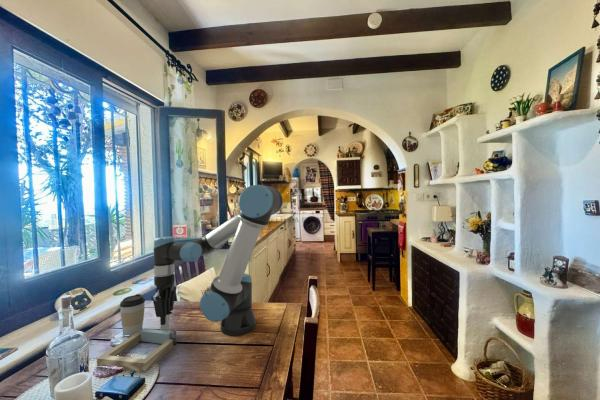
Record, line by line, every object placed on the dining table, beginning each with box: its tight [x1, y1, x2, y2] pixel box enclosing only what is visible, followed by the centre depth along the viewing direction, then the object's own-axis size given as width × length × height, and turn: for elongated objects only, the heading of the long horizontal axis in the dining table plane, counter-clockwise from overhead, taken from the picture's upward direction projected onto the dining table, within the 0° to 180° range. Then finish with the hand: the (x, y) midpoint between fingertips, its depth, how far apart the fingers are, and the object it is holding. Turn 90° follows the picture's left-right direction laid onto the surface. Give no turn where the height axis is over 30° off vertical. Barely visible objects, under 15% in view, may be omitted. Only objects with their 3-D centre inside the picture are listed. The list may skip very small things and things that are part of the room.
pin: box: [171, 330, 177, 347], centre depth 97 cm, size 2×2×5 cm
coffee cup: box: [119, 293, 146, 335], centre depth 107 cm, size 9×9×15 cm
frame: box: [96, 332, 174, 373], centre depth 91 cm, size 18×17×3 cm
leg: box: [140, 328, 172, 345], centre depth 99 cm, size 13×2×4 cm, turn 77°
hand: (165, 331), depth 104 cm, fingers closed
